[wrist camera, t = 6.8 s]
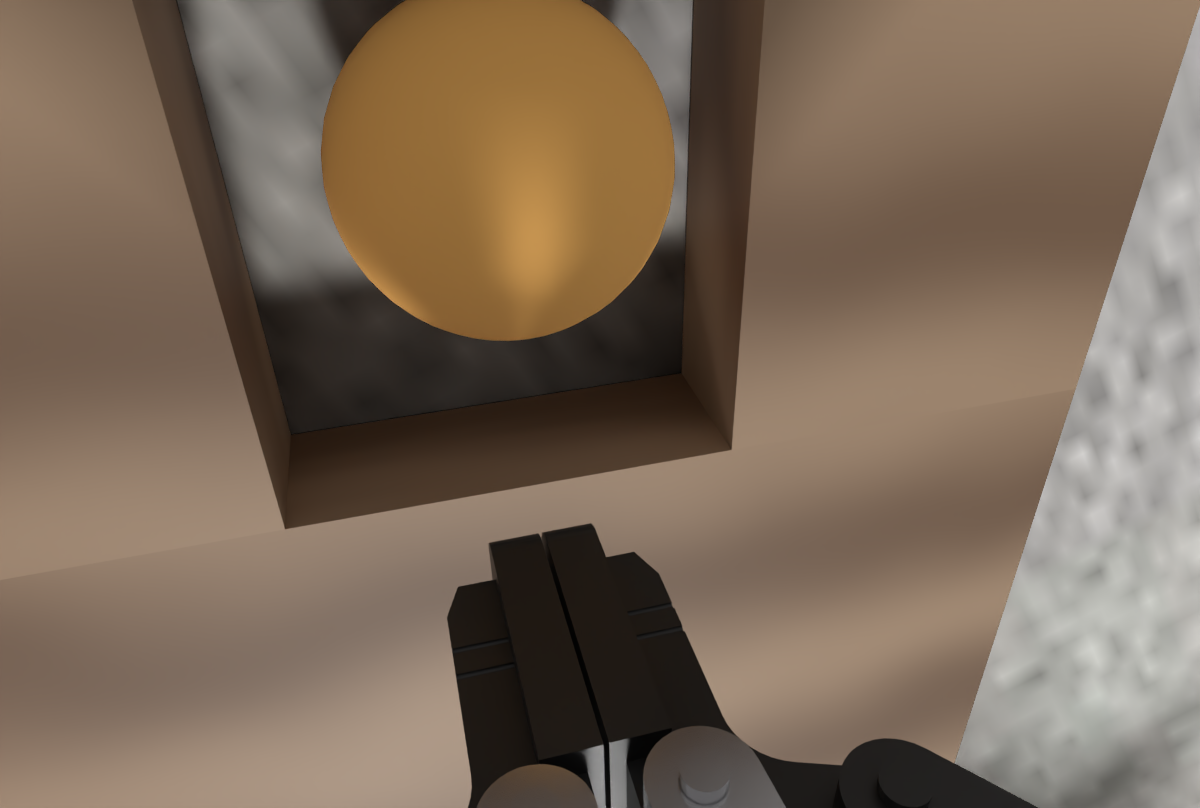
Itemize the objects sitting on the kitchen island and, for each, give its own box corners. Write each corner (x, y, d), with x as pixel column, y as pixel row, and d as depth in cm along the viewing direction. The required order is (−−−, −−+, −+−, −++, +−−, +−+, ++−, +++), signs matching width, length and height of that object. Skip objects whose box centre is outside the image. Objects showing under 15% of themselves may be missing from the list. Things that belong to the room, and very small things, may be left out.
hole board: (-665, -327, 8) (-990, -379, 6) (1148, -316, 12) (1313, -346, 10) (173, 1006, 23) (158, 1119, 21) (867, 815, 27) (911, 895, 25)
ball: (266, 172, 8) (370, 428, 12) (736, 117, 8) (694, 381, 12) (277, -81, 10) (361, 199, 14) (643, -114, 11) (632, 165, 14)
